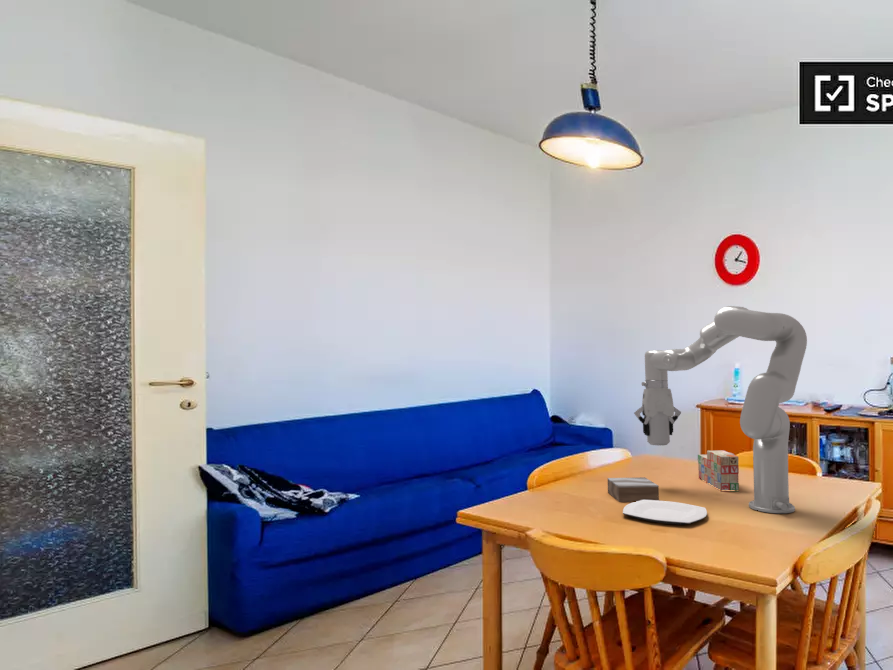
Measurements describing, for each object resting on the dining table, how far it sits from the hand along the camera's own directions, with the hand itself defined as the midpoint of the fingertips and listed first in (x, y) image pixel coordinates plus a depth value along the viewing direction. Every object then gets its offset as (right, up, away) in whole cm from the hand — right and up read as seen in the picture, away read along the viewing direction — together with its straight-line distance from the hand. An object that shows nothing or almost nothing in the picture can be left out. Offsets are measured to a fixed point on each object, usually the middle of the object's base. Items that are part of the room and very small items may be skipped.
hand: (658, 434), depth 222 cm
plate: (-10, -19, -35) cm, 41 cm away
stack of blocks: (+23, -19, +5) cm, 30 cm away
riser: (-13, -19, -12) cm, 26 cm away
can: (0, -4, 0) cm, 4 cm away
